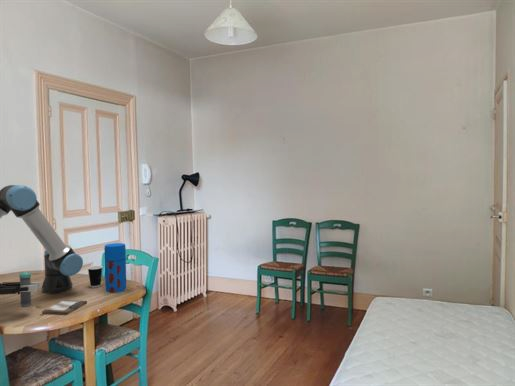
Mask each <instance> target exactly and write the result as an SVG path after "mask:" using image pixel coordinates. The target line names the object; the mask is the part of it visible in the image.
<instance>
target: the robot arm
mask: <svg viewBox="0 0 515 386" xmlns="http://www.w3.org/2000/svg"><path fill="white" fill-rule="evenodd" d="M11 212H12V213H13V215H14V216H15V217H16V218H19V219H22V220H23V222H24V224H26V226H27V227H28V228H29V229H30V231H31V232H32V233H33V235H34V236H35V238H36V239H37V240H38V241H39V243H40V244H41V245H42V247H43V248H44V249H45V251H44V255H43V257H44V280H43V283H42V282H41V281H35V282H30V283H31V285H24V286H20V281H13V282H11V281H10V282H8V281H7V282H4V281H3V282H0V296H2V295H4V296H5V295H16V294H17V295H20V291H21V292H31V293H32V292H37V291H38V289H41V292H42V293H45V294H57V293H63V292H68V291H70V290H72V289H73V288H74V287H73V285H74V284H73V282H72V280H71V276H75V275H76V274H78V273H79V272H80V271H81V269H82V268H83V264H84V261H83V257H82V256H81V255H80V254H78V253H76V252H75V251H74V250H73V248H72V246H71V245H69V244H68V245H67V244H65V242H64V241H63V239H62V238H61V237H60V235H59V234H58V233H57V231H56V230H55V229H54V227H53V226H52V225H51V223H50V221H49V220H48V219H47V218H46V216H45V214H43V212H42V211H41V210H40V203H39V201H38V199H37V194H36V192H35V190H34V189H32V188H31V187H29V186H27V185H23V184H10V185H6V186H4V187H2V188H1V189H0V219H2V218H3V216H7V215H8V214H9V213H11Z"/></svg>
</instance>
